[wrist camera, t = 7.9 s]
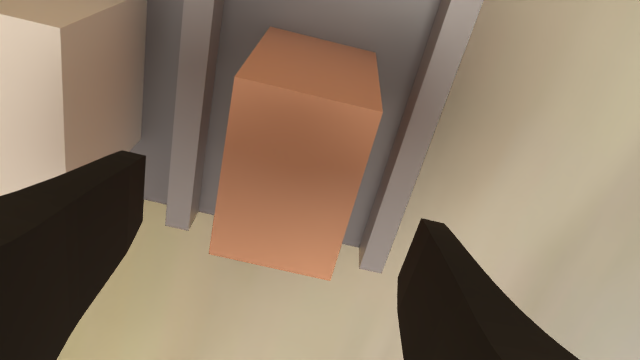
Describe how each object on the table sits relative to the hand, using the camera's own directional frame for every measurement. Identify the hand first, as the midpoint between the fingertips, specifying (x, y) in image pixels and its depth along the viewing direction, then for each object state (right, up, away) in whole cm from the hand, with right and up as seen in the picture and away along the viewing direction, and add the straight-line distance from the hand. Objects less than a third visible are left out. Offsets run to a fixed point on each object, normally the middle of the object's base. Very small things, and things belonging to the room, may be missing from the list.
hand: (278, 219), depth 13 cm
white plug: (-8, +6, +6) cm, 12 cm away
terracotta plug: (0, +4, +7) cm, 8 cm away
